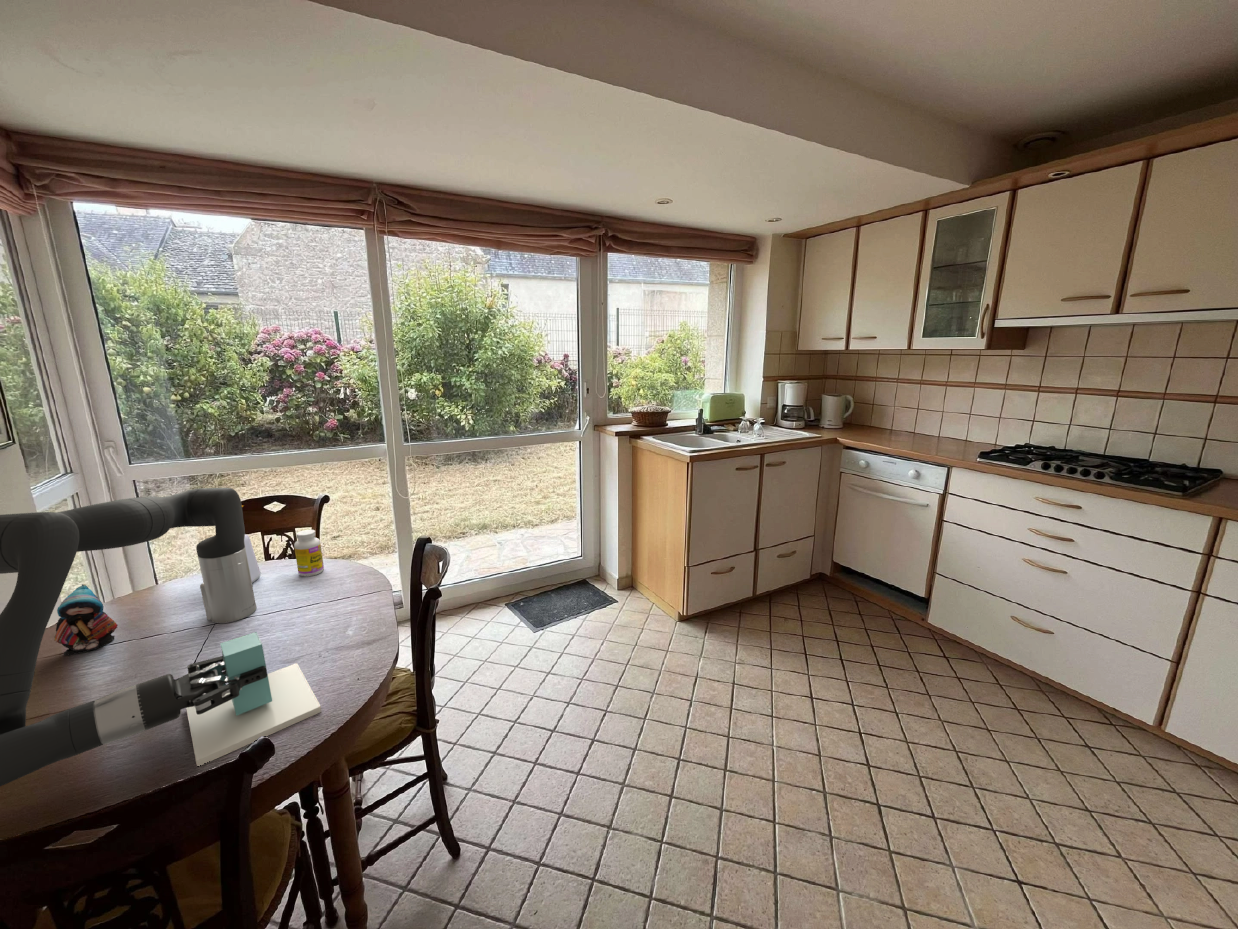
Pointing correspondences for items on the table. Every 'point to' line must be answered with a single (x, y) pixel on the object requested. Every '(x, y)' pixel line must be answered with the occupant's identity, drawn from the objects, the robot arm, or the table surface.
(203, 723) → the stub base
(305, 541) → the supplement bottle
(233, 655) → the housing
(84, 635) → the figurine
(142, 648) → the table surface
